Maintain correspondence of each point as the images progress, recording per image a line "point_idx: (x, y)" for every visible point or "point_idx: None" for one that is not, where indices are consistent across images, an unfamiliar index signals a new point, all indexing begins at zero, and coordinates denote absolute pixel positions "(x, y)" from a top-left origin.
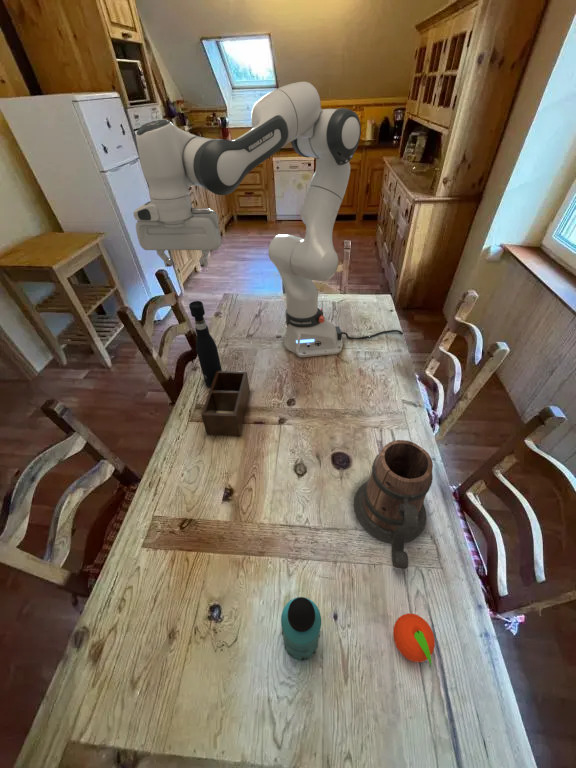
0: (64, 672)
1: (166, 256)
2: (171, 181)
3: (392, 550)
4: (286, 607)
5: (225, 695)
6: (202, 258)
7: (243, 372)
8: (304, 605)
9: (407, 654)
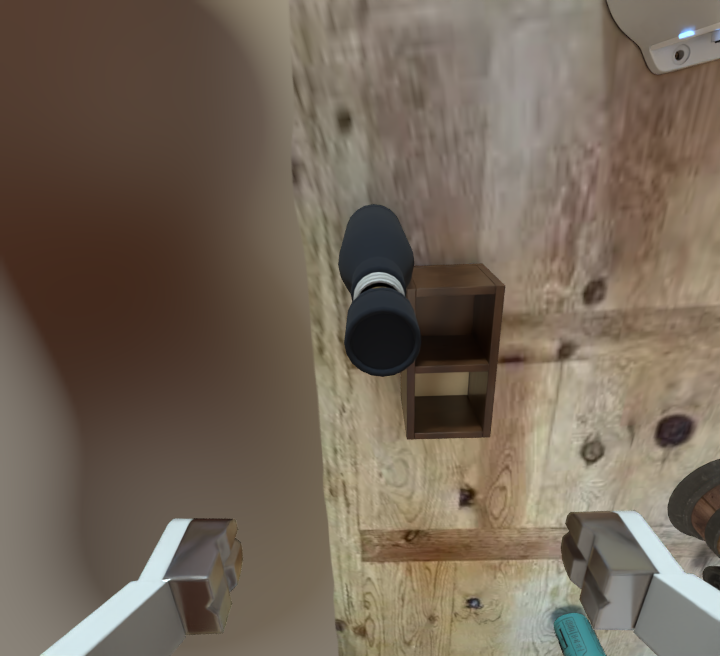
0: (338, 642)
1: (150, 616)
2: None
3: (712, 571)
4: None
5: (493, 643)
6: (629, 588)
7: (494, 290)
8: None
9: None
